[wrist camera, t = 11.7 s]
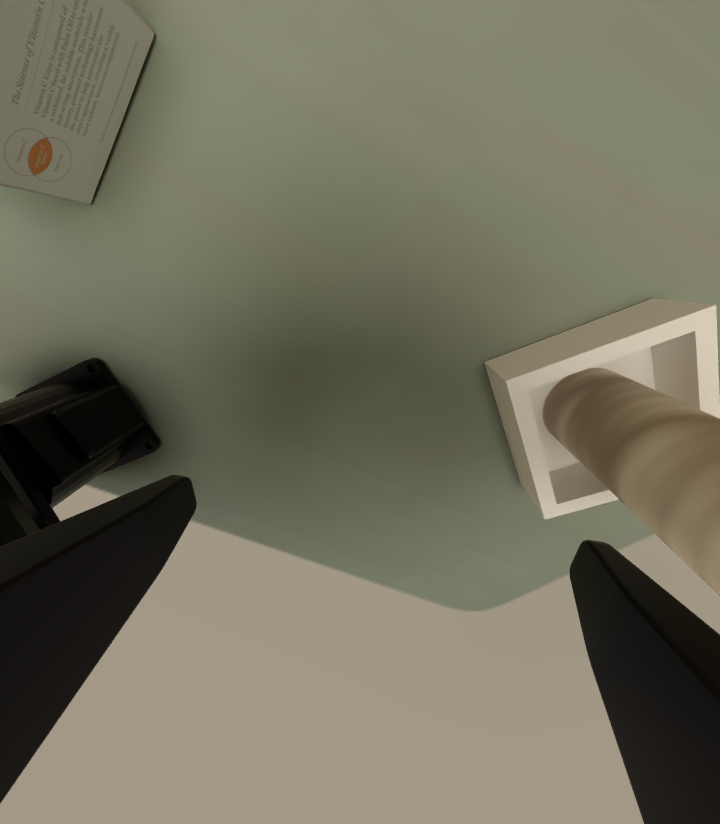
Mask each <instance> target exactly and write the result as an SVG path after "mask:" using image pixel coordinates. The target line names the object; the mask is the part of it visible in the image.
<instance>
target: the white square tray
mask: <svg viewBox="0 0 720 824" xmlns="http://www.w3.org/2000/svg"><path fill="white" fill-rule="evenodd" d="M484 364H485V367H486V370H487V374H488V377H489V380H490V384H491V387H492V390H493V394H494V397H495V400H496V404H497V407H498V411H499V414H500V417H501V421H502V424H503V427H504V431H505V434H506V437H507V441H508V444H509V447H510V451H511V454H512V458H513V461H514V464H515V468H516V471H517V474H518V478H519V481H520V483H521V485H522V486H523V488H524V489H525V491H526V492H527V494H528V495H529V497H530V498H531V500H532V501H533V503H534V504H535V506H536V507H537V509H538V510H539V512H540V513H541V515H542V517H543V518H544V520H545V519H549V518H553V517H556V516H560V515H564V514H567V513H571V512H575V511H578V510H582V509H586V508H589V507H593V506H597V505H600V504H604V503H608V502H611V501H615V500H619V499H618V498H617V497H616V496H615V495H614V494H613V493H612V492H611V491H610V490H609V489H608V488H607V487H606V486H605V485H604V484H603V483H602V482H601V481H600V480H598V479H597V478H596V477H595V476H594V475H593V474H592V473H591V472H590V471H589V470H588V469H587V468H586V467H585V466H584V465H583V464H582V463H581V462H580V461H579V460H578V459H577V458H576V457H575V456H573V455H572V454H571V453H570V452H569V451H568V450H567V449H566V448H565V447H564V446H563V445H562V444H561V443H560V442H559V441H558V440H557V439H556V438H555V437H554V436H553V435H552V434H551V433H550V432H549V431H548V430H547V428H546V426H545V424H544V421H543V407H544V404H545V401H546V398H547V397H548V395H549V393H550V392H551V390H552V389H553V388H554V387H555V386H556V385H557V384H558V383H559V382H560V381H561V380H562V379H564V378H565V377H567V376H569V375H571V374H574V373H577V372H580V371H583V370H585V369H588V368H603V369H608V370H611V371H613V372H616V373H618V374H620V375H622V376H625V377H627V378H629V379H631V380H634V381H636V382H638V383H640V384H643V385H645V386H647V387H649V388H652V389H654V390H656V391H659V392H661V393H663V394H665V395H668V396H670V397H672V398H674V399H677V400H679V401H681V402H683V403H686V404H688V405H690V406H692V407H695V408H697V409H699V410H702V411H704V412H706V413H708V414H711V415H713V416H715V417H717V418H720V401H719V374H718V347H717V319H716V305H712V304H702V303H692V302H682V301H672V300H662V299H649V300H647V301H644V302H641V303H639V304H636V305H634V306H631V307H628V308H626V309H623V310H620V311H618V312H615V313H612V314H610V315H607V316H604V317H602V318H599V319H597V320H594V321H591V322H589V323H586V324H583V325H581V326H578V327H575V328H573V329H570V330H567V331H565V332H562V333H560V334H557V335H554V336H552V337H549V338H546V339H544V340H541V341H538V342H536V343H533V344H530V345H528V346H525V347H523V348H520V349H517V350H515V351H512V352H509V353H507V354H504V355H501V356H499V357H496V358H493V359H491V360H488V361H486V362H484Z"/></svg>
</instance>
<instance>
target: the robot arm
mask: <svg viewBox="0 0 720 824" xmlns="http://www.w3.org/2000/svg"><path fill="white" fill-rule="evenodd" d="M92 365H93V366H94V367H95V369H96V370H95V369H94V368H93V367H92ZM149 443H151V444H152V446H151V445H150V444H149ZM159 447H160V442H159V440H158V439H157V437H156V436H155V434H154V433H153V432H152V430H151V429H150V428H149V426H148V425H147V423H146V422H145V421H144V419H143V418H142V417H141V415H140V414H139V412H138V411H137V410H136V408H135V407H134V406H133V404H132V403H131V401H130V400H129V399H128V397H127V396H126V394H125V393H124V392H123V390H122V389H121V388H120V386H119V385H118V383H117V382H116V381H115V379H114V378H113V377H112V375H111V374H110V372H109V371H108V370H107V368H106V367H105V365H104V364H103V363H102V362H101V361H100V360H98V359H95V358H92V359H89V360H85V361H83V362H81V363H79V364H77V365H75V366H73V367H71V368H69V369H67V370H65V371H63V372H61V373H59V374H57V375H55V376H53V377H51V378H49V379H47V380H45V381H43V382H41V383H39V384H37V385H35V386H33V387H31V388H29V389H27V390H25V391H23V392H21V393H19V394H17V395H16V397H15V398H13V399H10V400H7V401H4V402H1V403H0V803H1V802H2V800H3V799H4V798H5V796H6V794H7V793H8V792H9V790H10V789H11V787H12V786H13V785H14V783H15V782H16V780H17V779H18V777H19V776H20V774H21V773H22V771H23V770H24V769H25V767H26V766H27V764H28V763H29V761H30V760H31V758H32V757H33V756H34V754H35V753H36V751H37V750H38V748H39V747H40V745H41V744H42V743H43V741H44V740H45V738H46V737H47V735H48V734H49V732H50V731H51V730H52V728H53V727H54V725H55V723H56V722H57V721H58V719H59V718H60V717H61V715H62V714H63V712H64V711H65V709H66V708H67V706H68V705H69V703H70V702H71V701H72V699H73V698H74V696H75V695H76V693H77V692H78V690H79V689H80V688H81V686H82V685H83V683H84V682H85V680H86V679H87V677H88V676H89V675H90V673H91V672H92V670H93V669H94V667H95V666H96V664H97V663H98V662H99V660H100V658H101V657H102V656H103V654H104V653H105V651H106V650H107V648H108V647H109V646H110V644H111V643H112V641H113V640H114V638H115V637H116V635H117V634H118V632H119V631H120V630H121V628H122V627H123V625H124V624H125V622H126V621H127V620H128V618H129V617H130V615H131V614H132V612H133V611H134V609H135V608H136V607H137V605H138V604H139V602H140V601H141V599H142V598H143V596H144V595H145V594H146V592H147V591H148V589H149V588H150V586H151V585H152V583H153V582H154V580H155V579H156V578H157V576H158V575H159V573H160V571H161V570H162V568H163V567H164V565H165V563H166V562H167V560H168V558H169V557H170V555H171V553H172V551H173V549H174V548H175V546H176V544H177V542H178V541H179V539H180V537H181V535H182V534H183V532H184V530H185V528H186V526H187V525H188V523H189V521H190V519H191V518H192V516H193V514H194V512H195V509H196V498H195V494H194V490H193V486H192V482H191V480H190V479H189V478H188V477H185V476H178V475H171V476H168V477H166V478H163V479H161V480H159V481H156V482H154V483H151V484H149V485H147V486H144V487H142V488H140V489H137V490H135V491H132V492H130V493H128V494H125V495H123V496H120V497H118V498H116V499H113V500H111V501H108V502H106V503H104V504H101V505H99V506H97V507H94V508H92V509H89V510H87V511H85V512H82V513H80V514H77V515H75V516H73V517H70V518H68V519H66V520H63V521H61V522H60V520H59V518H58V517H57V515H56V513H55V512H54V510H53V509H52V508H53V507H54V506H56V505H57V504H59V503H60V502H61V501H63V500H64V499H65V498H67V497H68V496H70V495H71V494H72V493H74V492H75V491H77V490H78V489H79V488H81V487H82V486H83V485H85V484H86V483H88V482H89V481H90V480H92V479H93V478H95V477H96V476H97V475H99V474H101V473H103V472H106V471H108V470H111V469H113V468H116V467H118V466H120V465H123V464H125V463H128V462H130V461H133V460H135V459H138V458H140V457H143V456H145V455H148V454H150V453H153V452H154V451H156V450H157V449H158V448H159ZM570 580H571V584H572V588H573V593H574V597H575V601H576V606H577V610H578V614H579V619H580V623H581V628H582V632H583V636H584V640H585V645H586V649H587V653H588V656H589V659H590V663H591V666H592V669H593V672H594V676H595V678H596V681H597V684H598V687H599V690H600V693H601V696H602V699H603V702H604V705H605V708H606V711H607V714H608V717H609V720H610V723H611V726H612V729H613V732H614V735H615V738H616V741H617V744H618V747H619V750H620V753H621V756H622V759H623V762H624V765H625V768H626V771H627V774H628V777H629V780H630V783H631V786H632V789H633V791H634V795H635V798H636V801H637V804H638V807H639V809H640V813H641V816H642V819H643V822H644V824H720V634H718V633H717V632H716V631H715V630H714V629H712V628H711V627H710V626H709V625H707V624H706V623H705V622H704V621H703V620H701V619H700V618H699V617H697V616H696V615H695V614H694V613H693V612H691V611H690V610H689V609H688V608H686V607H685V606H684V605H683V604H681V603H680V602H679V601H678V600H676V598H674V597H673V596H672V595H670V594H669V593H668V592H667V591H666V590H664V589H663V588H662V587H661V586H660V585H658V584H657V583H656V582H655V581H653V580H652V579H651V578H650V577H649V576H647V575H646V574H645V573H643V572H642V571H641V570H640V569H639V568H637V567H636V566H635V565H634V564H632V563H631V562H630V561H629V560H628V559H626V558H625V557H624V556H623V555H621V554H620V553H619V552H618V551H617V550H615V549H614V548H613V547H612V546H610V545H609V544H607V543H604V542H599V541H592V540H584V541H583V542H582V543H581V544H580V546H579V549H578V551H577V553H576V555H575V557H574V559H573V561H572V564H571V566H570Z"/></svg>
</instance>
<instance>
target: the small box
mask: <svg viewBox="0 0 720 824" xmlns="http://www.w3.org/2000/svg"><path fill="white" fill-rule="evenodd" d="M153 38H154V33H153V31H152V30H151V28H150V27H149V26H148V25H147V24H146V23H145V22H144V21H143V20H142V19H141V17H140V16H139V15H138V14H137V13H136V12H135V11H134V10H133V9H132V8H131V7H130V6H129V5H128V4H127V2H126V1H125V0H0V185H1V186H6V187H10V188H15V189H19V190H24V191H28V192H33V193H38V194H42V195H47V196H51V197H56V198H60V199H65V200H70V201H74V202H79V203H84V204H90V203H91V202H92V199H93V196H94V193H95V190H96V188H97V185H98V183H99V180H100V177H101V175H102V172H103V170H104V167H105V164H106V162H107V159H108V157H109V154H110V151H111V149H112V146H113V143H114V141H115V138H116V136H117V133H118V130H119V128H120V125H121V122H122V120H123V117H124V114H125V112H126V109H127V106H128V104H129V101H130V98H131V96H132V93H133V90H134V88H135V85H136V82H137V80H138V77H139V74H140V72H141V69H142V66H143V64H144V61H145V59H146V56H147V53H148V51H149V48H150V45H151V43H152V40H153Z"/></svg>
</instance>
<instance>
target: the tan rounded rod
mask: <svg viewBox="0 0 720 824" xmlns="http://www.w3.org/2000/svg"><path fill="white" fill-rule="evenodd" d="M543 421H544V424H545V426H546V428H547V430H548V431H549V432H550V433H551V434H552V435H553V436H554V437H555V438H556V439H557V440H558V441H559V442H560V443H561V444H562V445H563V446H564V447H565V448H566V449H567V450H568V451H569V452H570V453H571V454H572V455H573V456H575V457H576V458H577V459H578V460H579V461H580V462H581V463H582V464H583V465H584V466H585V467H586V468H587V469H588V470H589V471H590V472H591V473H592V474H593V475H594V476H595V477H596V478H597V479H598V480H600V481H601V482H602V483H603V484H604V485H605V486H606V487H607V488H608V489H609V490H610V491H611V492H612V493H613V494H614V495H615V496H616V497H617V498H618V499H619V500H620V501H621V502H622V503H624V504H625V505H626V506H627V507H628V508H629V509H630V510H631V511H632V512H633V513H634V514H635V515H636V516H637V517H638V518H639V519H640V520H641V521H642V522H643V523H644V524H645V525H646V526H647V527H649V528H650V529H651V530H652V531H653V532H654V533H655V534H656V535H657V536H658V537H659V538H660V539H661V540H662V541H663V542H664V543H665V544H666V545H667V546H668V547H669V548H671V550H673V551H674V552H675V553H676V554H677V555H678V556H679V557H680V558H681V559H682V560H683V561H684V562H685V563H686V564H687V565H688V566H689V567H690V568H691V569H692V570H693V571H694V572H695V573H697V574H698V575H699V576H700V577H701V578H702V579H703V580H704V581H705V582H706V583H707V584H708V585H709V586H710V587H711V588H712V589H713V590H714V591H715V592H716V593H717V594H718V595H719V596H720V418H717V417H715V416H713V415H711V414H708V413H706V412H704V411H702V410H699V409H697V408H695V407H692V406H690V405H688V404H686V403H683V402H681V401H679V400H677V399H674V398H672V397H670V396H668V395H665V394H663V393H661V392H659V391H656V390H654V389H652V388H649V387H647V386H645V385H643V384H640V383H638V382H636V381H634V380H631V379H629V378H627V377H625V376H622V375H620V374H618V373H616V372H613V371H611V370H608V369H603V368H588V369H585V370H583V371H580V372H577V373H574V374H571V375H569V376H567V377H565V378H564V379H562V380H561V381H560V382H559V383H558V384H557V385H556V386H555V387H554V388H553V389H552V390H551V392H550V393H549V395H548V397H547V398H546V401H545V404H544V407H543Z"/></svg>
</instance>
